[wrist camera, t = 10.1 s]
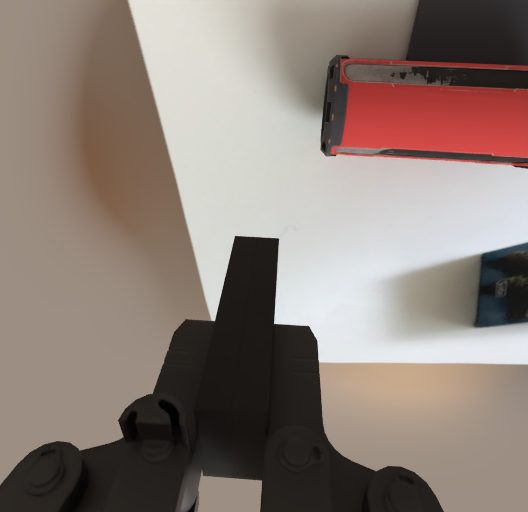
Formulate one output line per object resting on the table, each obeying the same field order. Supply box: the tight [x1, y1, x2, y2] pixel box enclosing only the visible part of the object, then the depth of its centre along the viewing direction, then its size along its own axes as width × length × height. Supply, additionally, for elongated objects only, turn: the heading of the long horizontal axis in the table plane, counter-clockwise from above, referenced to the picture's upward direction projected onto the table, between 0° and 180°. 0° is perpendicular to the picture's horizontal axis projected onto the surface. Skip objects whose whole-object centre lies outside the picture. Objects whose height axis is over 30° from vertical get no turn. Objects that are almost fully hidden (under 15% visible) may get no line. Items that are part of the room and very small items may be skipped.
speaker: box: [321, 55, 528, 169], centre depth 31 cm, size 8×8×18 cm
